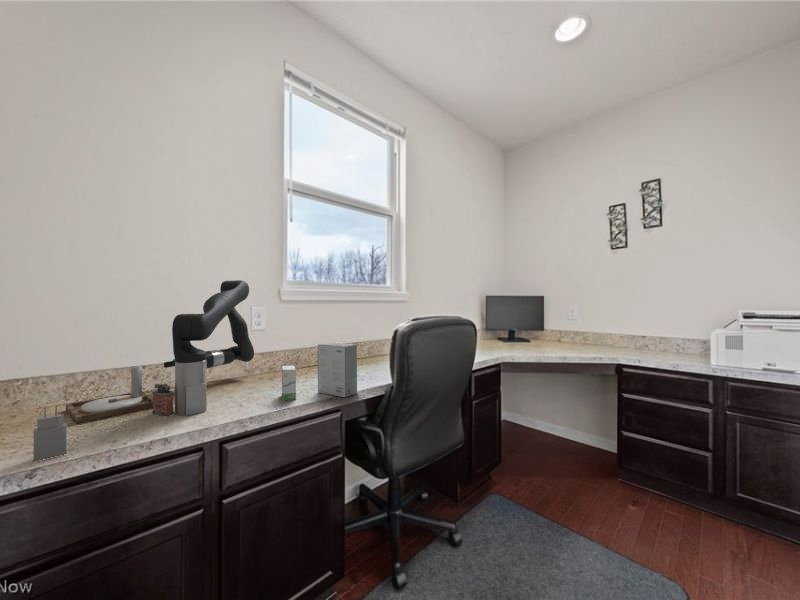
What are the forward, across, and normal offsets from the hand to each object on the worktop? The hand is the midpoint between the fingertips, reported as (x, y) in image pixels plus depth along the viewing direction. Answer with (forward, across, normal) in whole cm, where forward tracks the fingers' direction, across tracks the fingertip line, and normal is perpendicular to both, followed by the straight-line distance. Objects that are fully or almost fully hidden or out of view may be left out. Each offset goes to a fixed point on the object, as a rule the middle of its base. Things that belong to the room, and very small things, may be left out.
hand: (169, 366), depth 131 cm
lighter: (+13, +22, +12) cm, 28 cm away
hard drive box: (-34, +56, +12) cm, 67 cm away
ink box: (-20, +44, +12) cm, 50 cm away
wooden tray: (+19, 0, +11) cm, 22 cm away
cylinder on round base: (+18, 0, +10) cm, 21 cm away
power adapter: (+42, +31, +11) cm, 53 cm away
